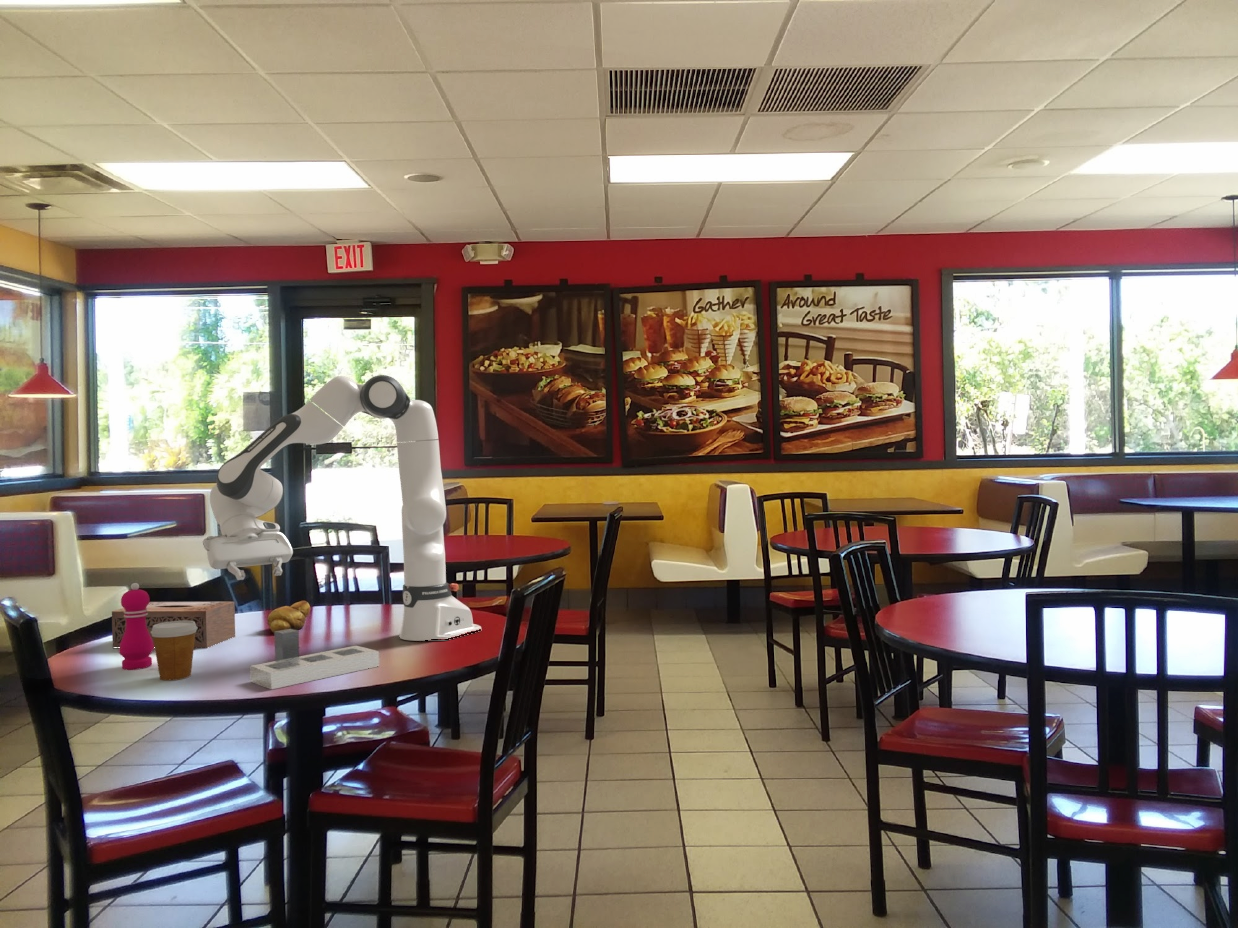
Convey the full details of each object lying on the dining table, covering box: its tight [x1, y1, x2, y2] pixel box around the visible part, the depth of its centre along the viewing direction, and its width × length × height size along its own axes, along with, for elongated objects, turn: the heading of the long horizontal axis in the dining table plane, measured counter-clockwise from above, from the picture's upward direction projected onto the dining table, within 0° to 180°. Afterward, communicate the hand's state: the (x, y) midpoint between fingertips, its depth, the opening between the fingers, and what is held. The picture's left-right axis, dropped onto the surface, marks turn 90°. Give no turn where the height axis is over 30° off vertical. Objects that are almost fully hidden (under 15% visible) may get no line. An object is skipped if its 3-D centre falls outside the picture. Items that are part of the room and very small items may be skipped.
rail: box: [249, 645, 380, 690], centre depth 202 cm, size 26×10×4 cm, turn 137°
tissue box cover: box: [111, 601, 236, 649], centre depth 239 cm, size 26×14×10 cm, turn 85°
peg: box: [273, 629, 300, 661], centre depth 211 cm, size 4×4×8 cm
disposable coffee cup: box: [151, 621, 198, 681], centre depth 201 cm, size 10×10×12 cm
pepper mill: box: [118, 582, 155, 670], centre depth 212 cm, size 7×7×20 cm
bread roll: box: [266, 600, 311, 633], centre depth 253 cm, size 13×10×8 cm
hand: (260, 576), depth 219 cm, fingers open, 8 cm apart
